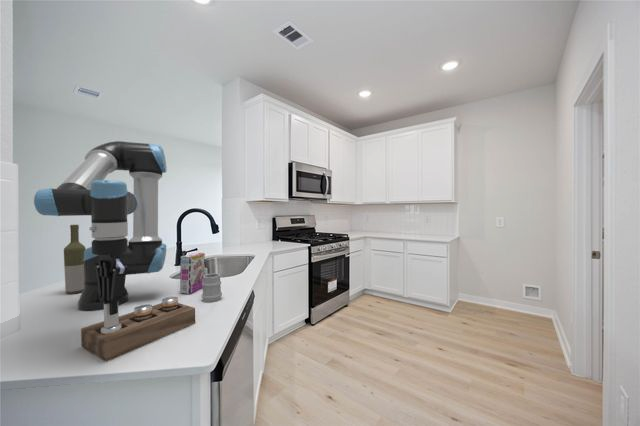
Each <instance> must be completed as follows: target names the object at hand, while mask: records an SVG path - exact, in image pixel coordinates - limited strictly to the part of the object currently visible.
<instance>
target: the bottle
mask: <svg viewBox="0 0 640 426" xmlns="http://www.w3.org/2000/svg"><path fill="white" fill-rule="evenodd" d="M69 228H70V242H69V243H68V244H67V245H66V246H65V247H64V248H63V261H64V262H63V264H64V265H63V268H64V283H65V284H64V285H65V288H64V289H65V294H67V295H75V294H80V293H82V291H83V288H84V261H83V260H84V251H85V250H86V249H87V248H86V246H85V245H84V244H83V243H81V242H80V241H79V240H80V237H79V236H80V235H79V233H80V231H79V230H80V229H79V228H80V225H79V224H70V226H69Z"/></svg>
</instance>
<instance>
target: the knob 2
mask: <svg viewBox="0 0 640 426" xmlns="http://www.w3.org/2000/svg"><path fill="white" fill-rule="evenodd" d="M152 306H153V305H152V304H142V305H141V304H140V305H138V306H135V307H134V310H133V312H134V321H135V322H137V323H139V322H142V321H145V320H148V319H151V318H152V313H153V312H152Z"/></svg>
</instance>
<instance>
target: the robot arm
mask: <svg viewBox="0 0 640 426" xmlns="http://www.w3.org/2000/svg"><path fill="white" fill-rule="evenodd" d="M167 170H168V169H167V161H166V156H165V151H164V149H163V148H162V146H161V145H159V144H153V143H143V142H130V141H119V140H118V141H117V140H116V141H110V142H105V143H102V144H100V145H97V146H95V147H93V148H92V149H90V150H89V151H88V152H87V153H86V155H85V157H84V161H83V162H82V163H81V164H80V165H79V166H78V167H76V169H75V170H74V171H73V172H72V173H71V174H70V175H69V176H68V177H67V178H66V179H64V181H63V182H62V183H60V185H59V186H57V188H52V187H50V188H41V189H38V190H37V191H36V192H35V194H34V198H33V204H34V207H35V210H36V211H37V213H38V214H40V215H41V216H52V217H53V216H55V217H61V216H62V217H64V216H65V217H67V216H68V217H71V216H74V217H75V216H76V217H77V216H91V220H90V221H91V226H90V227H89V231H90V232H91V238H93V239H92V240H91V246H89V247H87V248H86V250H85V251H84V260H83V261H84V288H83V291H82V292H81V294H80V297H79V298H78V301H77V308H78V310H81V311H96V310H98V311H99V310H103V321H104V327H106V328H108V327H111V326H114V325H117V324H119V316H120V315H119V306H120V305H122V304H124V303H126V302H128V300H129V292H128V290H127V287H126V286H125V285H126V276H127V275H128V276H129V275H141V274H143V275H144V274H147V275H148V274H151V273H158V272H160V271H161V270H162V269H163V267H164V265H165V261H166V256H167V244H166V243H163V239H162V238H161V237H160V236H159V180H160V179H162V178H163V174H166V173H167ZM115 171H126V172H127V171H128V175H129V176H130V177H132V179H133V193H132V192H130V191H128V186H127V183H126V182H125V181H120V180H110V179H109V180H107V179H106V177H107V176H108V175H109V174H111V173H114V172H115ZM131 214H133V215H132V217H133V219H132V222H133V223H132V226H133V227H132V238H131V239H129V238H126V237H127V236H129V233H128V231H129V225H128V224H129V223H128V215H131ZM128 239H129V240H128Z"/></svg>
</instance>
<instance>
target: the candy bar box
mask: <svg viewBox="0 0 640 426" xmlns="http://www.w3.org/2000/svg"><path fill="white" fill-rule="evenodd" d="M205 257H206V256H205V253H203V252H194V253H189V254H186V255H181V256H180V271H179V272H180V283H179V289H180V290H179V294H180V295H191V294H193V293H195V292H197V291H199V290H201V289H202V281H203V280H202V279H203V273H204V268H206V267H205V261H206V260H205V259H206V258H205Z"/></svg>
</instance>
